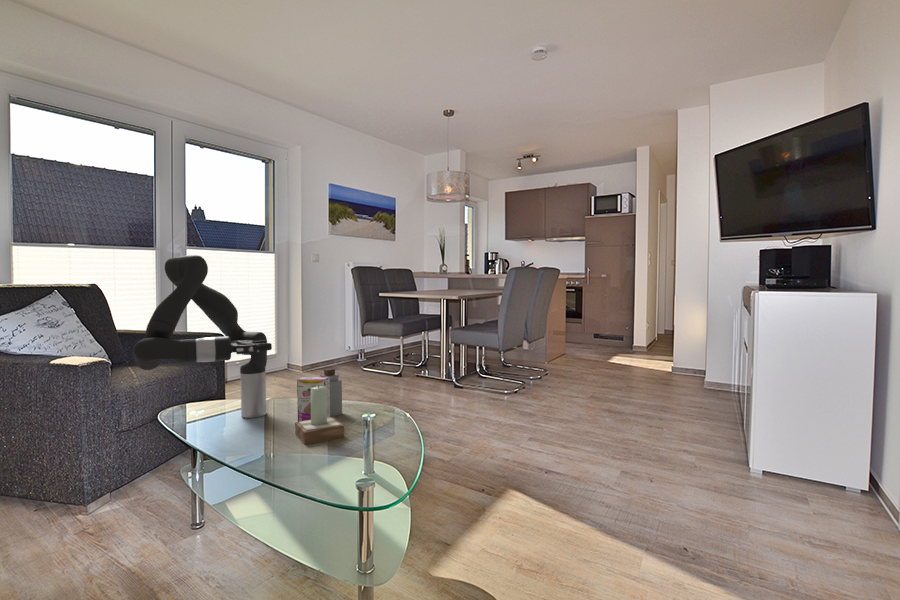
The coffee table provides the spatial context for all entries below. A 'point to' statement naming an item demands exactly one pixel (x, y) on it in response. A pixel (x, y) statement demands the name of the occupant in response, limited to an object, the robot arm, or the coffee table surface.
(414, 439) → the coffee table surface
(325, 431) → the walnut plinth
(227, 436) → the coffee table surface
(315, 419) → the pillar candle
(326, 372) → the perfume bottle
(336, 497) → the coffee table surface
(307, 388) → the candy bar box
